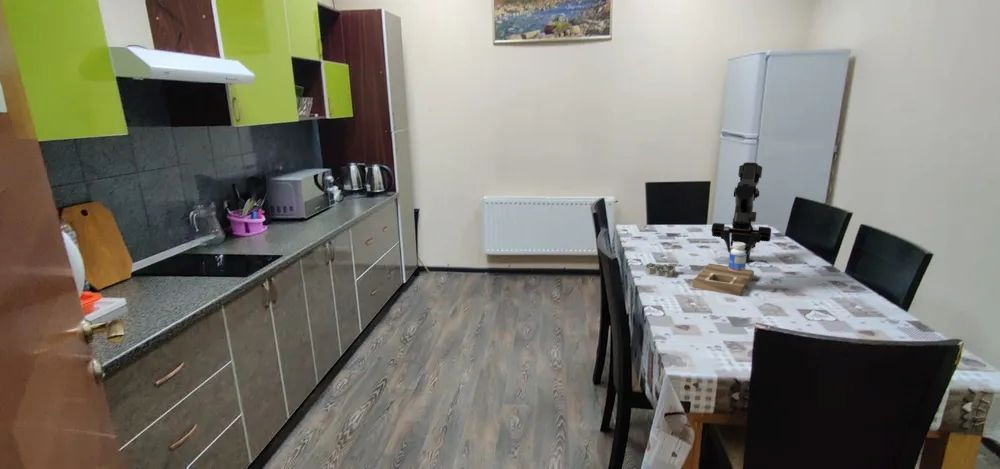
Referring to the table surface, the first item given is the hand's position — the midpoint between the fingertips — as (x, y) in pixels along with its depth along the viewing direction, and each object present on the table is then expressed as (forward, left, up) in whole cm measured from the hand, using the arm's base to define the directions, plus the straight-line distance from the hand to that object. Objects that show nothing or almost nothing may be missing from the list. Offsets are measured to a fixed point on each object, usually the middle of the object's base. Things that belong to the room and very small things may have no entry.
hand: (738, 253), depth 172 cm
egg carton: (+12, -25, -14) cm, 31 cm away
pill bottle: (-1, -1, -7) cm, 7 cm away
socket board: (-2, -7, -13) cm, 15 cm away
